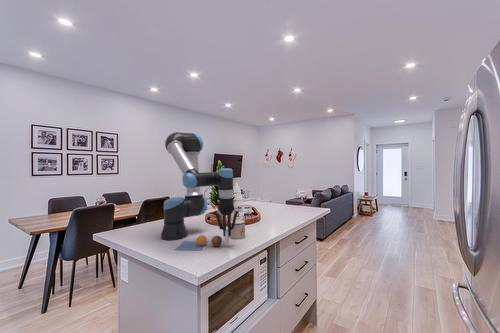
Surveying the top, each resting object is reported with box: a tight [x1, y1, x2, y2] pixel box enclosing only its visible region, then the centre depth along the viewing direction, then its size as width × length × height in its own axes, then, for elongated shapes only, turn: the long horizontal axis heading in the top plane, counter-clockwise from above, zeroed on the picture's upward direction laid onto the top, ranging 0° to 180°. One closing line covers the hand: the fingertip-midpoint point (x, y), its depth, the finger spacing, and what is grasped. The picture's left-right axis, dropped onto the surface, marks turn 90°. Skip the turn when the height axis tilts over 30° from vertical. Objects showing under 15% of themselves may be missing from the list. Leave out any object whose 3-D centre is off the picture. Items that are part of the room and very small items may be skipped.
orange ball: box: [195, 234, 208, 246], centre depth 126 cm, size 6×6×6 cm
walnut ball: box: [211, 235, 223, 247], centre depth 124 cm, size 6×6×6 cm
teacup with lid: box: [229, 216, 246, 240], centre depth 142 cm, size 12×9×12 cm
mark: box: [174, 240, 210, 251], centre depth 126 cm, size 14×14×1 cm
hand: (227, 242), depth 124 cm, fingers closed
